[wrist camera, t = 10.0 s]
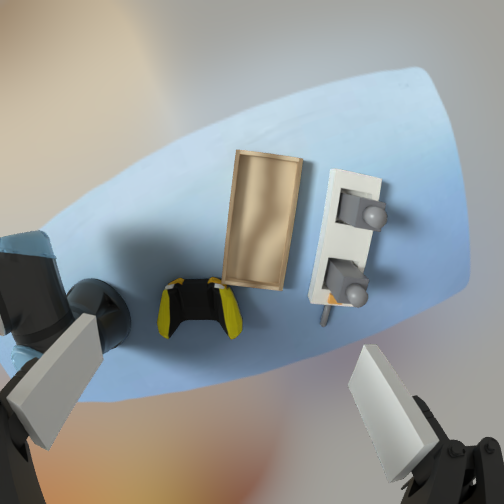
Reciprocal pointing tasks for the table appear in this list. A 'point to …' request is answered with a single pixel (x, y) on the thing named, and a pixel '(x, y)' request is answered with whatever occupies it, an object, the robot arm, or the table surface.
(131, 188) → the table surface
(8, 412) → the robot arm
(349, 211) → the plug
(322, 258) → the strip
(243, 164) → the tray
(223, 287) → the gaming controller
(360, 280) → the twin plug
